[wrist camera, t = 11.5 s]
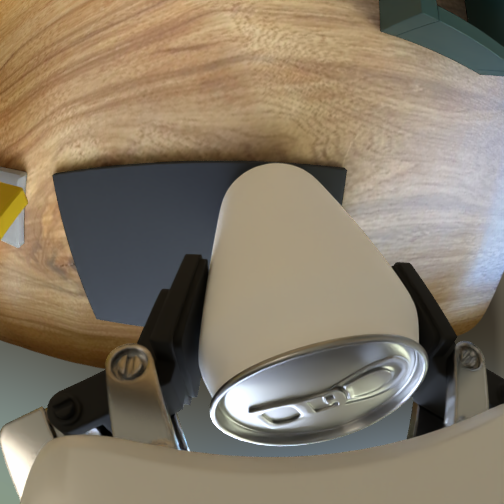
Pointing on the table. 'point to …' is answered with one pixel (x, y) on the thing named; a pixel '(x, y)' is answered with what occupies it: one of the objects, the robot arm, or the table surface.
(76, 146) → the table surface
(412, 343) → the can
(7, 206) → the yellow framed monitor
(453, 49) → the box
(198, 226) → the mat
